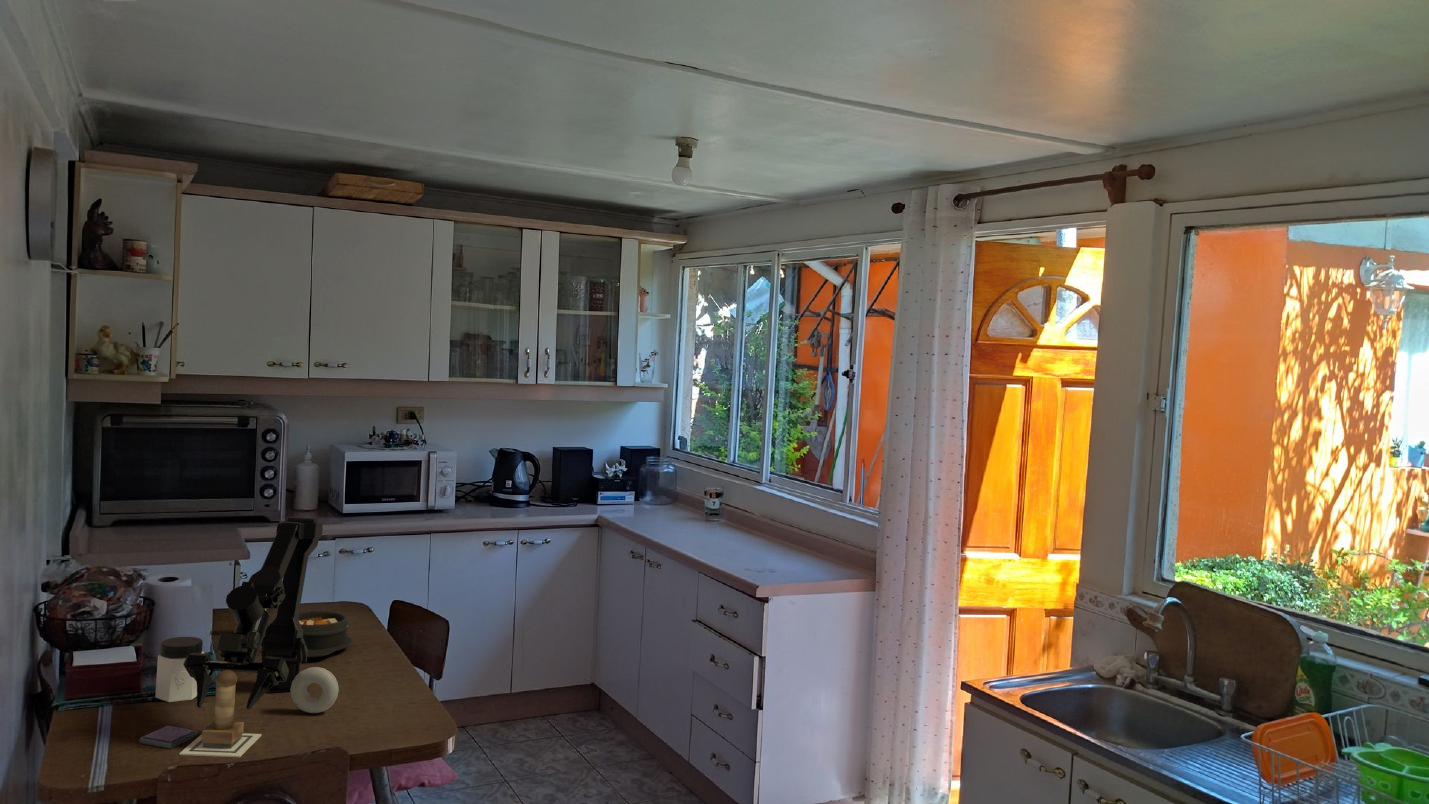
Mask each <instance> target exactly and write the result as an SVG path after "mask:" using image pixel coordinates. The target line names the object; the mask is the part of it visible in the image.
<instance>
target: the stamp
mask: <svg viewBox="0 0 1429 804" xmlns="http://www.w3.org/2000/svg"><path fill="white" fill-rule="evenodd" d="M214 681H215V699H214V700H215V702H214V715H213V716H214V717H213V718H214V719H213V722H212V723H210V724H209V725H208V726H207V727H206V728H205V729H203V730H202V731H201V734H202V743H203V748H227V749H231V748H232V747H233V746H234V745H235V744H236V743H237V742H238V741H239V740H240V739H241V738H242V734H243V733H244V727H245V722H244V721H234V720H235V719H234V717H235V702H236V701H235V700H236V685H237V682H238V676H237V673H236V672H233V671H231V670H224V671H219V673H218V674H217V675H216V677H215V680H214Z"/></svg>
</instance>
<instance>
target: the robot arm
mask: <svg viewBox="0 0 1429 804" xmlns="http://www.w3.org/2000/svg"><path fill="white" fill-rule="evenodd" d="M323 528H324V526H323V523H321V522H319V519H318V518H315V517H304V516H300V517H299V516H289V517H288V519H287V520H280V521H279V522H278V524H277V526H276V532H275V533H276V534H275V537H274V538H273V541H272V544H271V546H270V548H269V551H268V553H267V554H266V556H265V559H264V562H263V564H262V566H261V568H260V569H259V570H258V571H257V572H255V573H253V574H252V575H250V577H249V579H248V581H242V583H241V585H239V586H237V587H234V588H232V590H230V591H229V593H227V595H226V597H225V604H226V605H227V607H228V610H229V612H230V614H231V616H232V619H233V620H234V622H236V626H235V628H234V632H230V633H220V634H219V637H218V638H219V639H218V642H217V646H216V651H218V652H220V654H219V655H220V657H221V658H224V659H223V660H214V659H212V657H211V655H210V653H205V652H204V653H191V654H189V655H188V656H187V657H186V659H185V661H184V664H183V665H184V667H185V668H186V670H187V672H188V674H189V675H190V677H193V678H194V679H195V681H196V682H197V696H196V706H197V708H202V706H203V704H204V702H205V699H206V696H207V694H208V691H209V689H210V686H211V684H212V682H213V681H212V678H211V677H212V676H213V675H214V672H222V671H224V670H231V671H233V672H234V673H251V674H252V673H253V674H255V673H256V674H257V675H256V680H255V682H254V684H253V687H252V690H251V692H250V695H249V697H248V699H247V703H246V710H247V711H248V710H250V709H252V707H254V706H255V704H256V703H257V702H258V701H259V700H260V699H261V698H262V697H263V696H264V695H265V694H266V693H271V694H272V693H282V692H283V693H285V692H291V691H290V689H291V685H292V682H293V680H294V679H295V677H296V675H298V674H299V673H300V665H301V664H305V663H307V661H308V657H307V656H308V654H307V653H308V649H307V646H306V644H305V641H304V639H303V629H302V627H301V625H300V623H299V620H298V616H299V613H300V608H301V602H302V597H303V591H304V587H305V586H304V585H305V579H306V574H307V573H306V572H307V569H308V561H309V556H310V555H311V554H312V553H313V552H314V551H315V550H316V549H317V547H318V545H319V540H320V538H321V537H322V535H323ZM264 609H267V610H274V609H277V611H276V616H275V618H274V619H273V620H272V621H271V622H270V620H271V617H270V616H271V615H269V613H268V611H267V612H266V611H265V610H264ZM259 653H261V662H257V658H258V656H259Z"/></svg>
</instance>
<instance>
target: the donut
mask: <svg viewBox="0 0 1429 804" xmlns="http://www.w3.org/2000/svg"><path fill="white" fill-rule="evenodd" d="M311 684H316V685H317V684H318V685H319V686H320V688H321V694H320V695H319V696H312V695H310V693H309V692H308V687H309V685H311ZM339 691H340V689H339V683H338V680H337V678H336V677H335V675H334V674H333V673H332V672H331V671H329V670H327V669H326V668H324V667H319V666H313V667H308V668H305V669H303V670H301V671H299V674H298V675H296V677H295V679H294V680H293V682H292V685H291V689H290V691H289V692H290V698H291V700H292V701H293V704H294V705H295V706H296V707H297V708H298V709H300V710H301V711H302V712H304V713H309V714H319V713H320V714H321V713H323V712H325V711H326V710H328V709H330V708H331V707H332V706H333V705H334V704H335V702H336V700H337V699H338V695H339Z"/></svg>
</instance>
